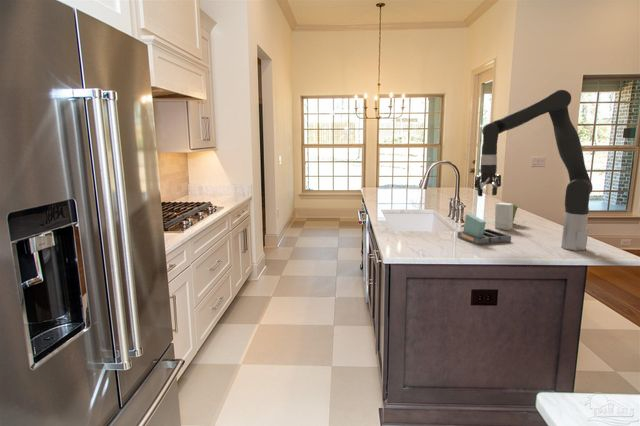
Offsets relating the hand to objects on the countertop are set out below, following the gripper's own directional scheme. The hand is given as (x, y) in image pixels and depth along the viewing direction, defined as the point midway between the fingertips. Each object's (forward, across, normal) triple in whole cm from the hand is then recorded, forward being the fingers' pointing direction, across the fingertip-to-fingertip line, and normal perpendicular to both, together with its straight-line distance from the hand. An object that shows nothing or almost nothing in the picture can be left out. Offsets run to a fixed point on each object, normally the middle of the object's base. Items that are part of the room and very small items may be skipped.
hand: (487, 195), depth 200 cm
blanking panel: (+21, -6, +3) cm, 22 cm away
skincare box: (+24, +28, +18) cm, 41 cm away
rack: (+23, 0, +2) cm, 23 cm away
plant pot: (+23, +40, +29) cm, 55 cm away
